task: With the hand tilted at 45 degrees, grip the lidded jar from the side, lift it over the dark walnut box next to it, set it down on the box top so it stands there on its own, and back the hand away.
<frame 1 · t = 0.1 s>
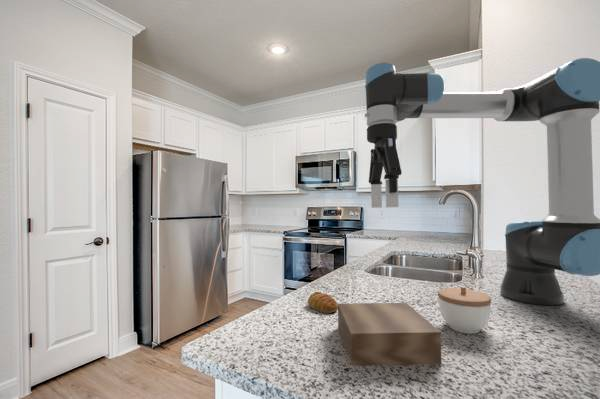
hand: (383, 207, 75), 28 cm above the countertop, tool pointing down, fingers open, 13 cm apart
pastry: (323, 309, 82), on the countertop
lidded jar: (464, 328, 67), on the countertop
walnut box: (383, 345, 60), on the countertop
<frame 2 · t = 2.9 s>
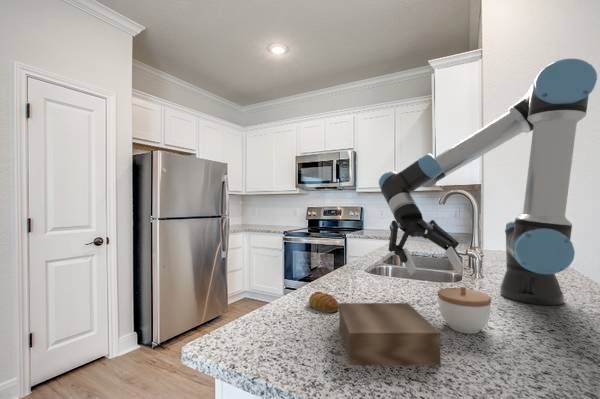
hand: (437, 271, 75), 11 cm above the countertop, tool tilted 45°, fingers open, 13 cm apart
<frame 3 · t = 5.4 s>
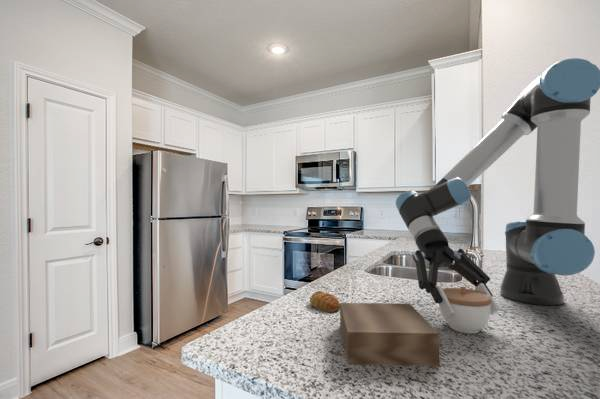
hand: (473, 314, 65), 4 cm above the countertop, tool tilted 45°, fingers closed on lidded jar, 11 cm apart
lidded jar: (464, 328, 67), on the countertop, touching gripper
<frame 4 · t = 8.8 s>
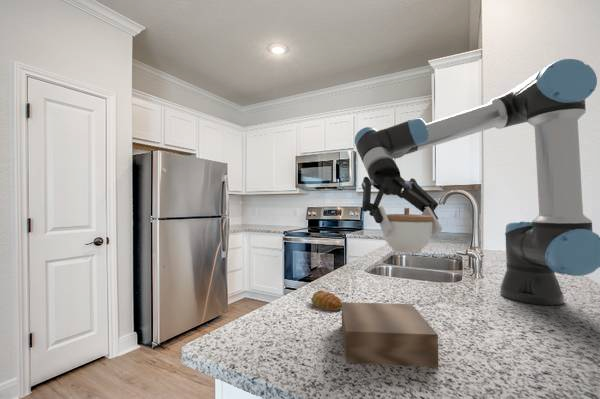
hand: (413, 233, 62), 22 cm above the countertop, tool tilted 45°, fingers closed on lidded jar, 11 cm apart
lidded jar: (406, 251, 65), point 18 cm above the countertop, touching gripper
when the fingers open (12 cm above the countertop, at t = 12.2 s): lidded jar drops 2 cm, resting on walnut box.
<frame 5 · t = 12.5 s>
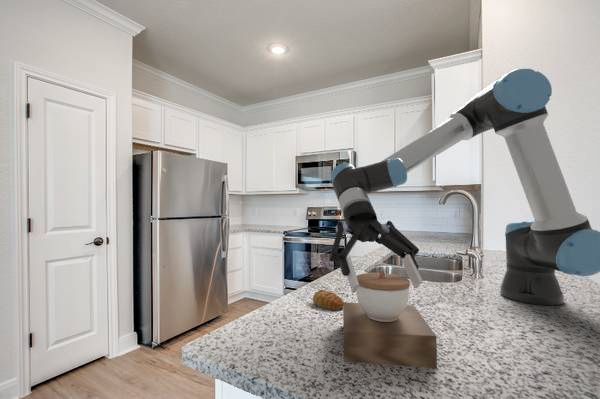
hand: (387, 286, 58), 12 cm above the countertop, tool tilted 45°, fingers open, 13 cm apart
lidded jar: (382, 317, 60), point 5 cm above the countertop, touching walnut box
walnut box: (383, 346, 60), on the countertop, touching lidded jar
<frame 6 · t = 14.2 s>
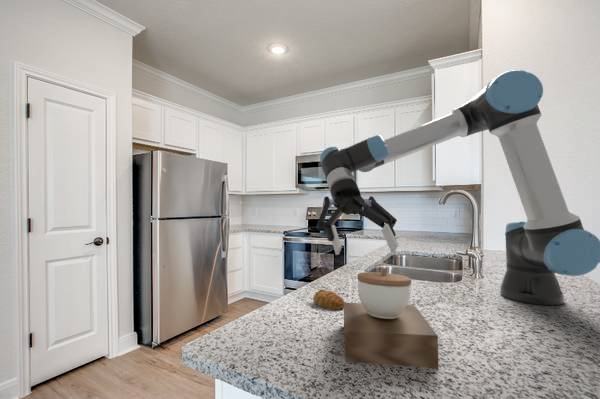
hand: (367, 250, 66), 18 cm above the countertop, tool tilted 45°, fingers open, 13 cm apart
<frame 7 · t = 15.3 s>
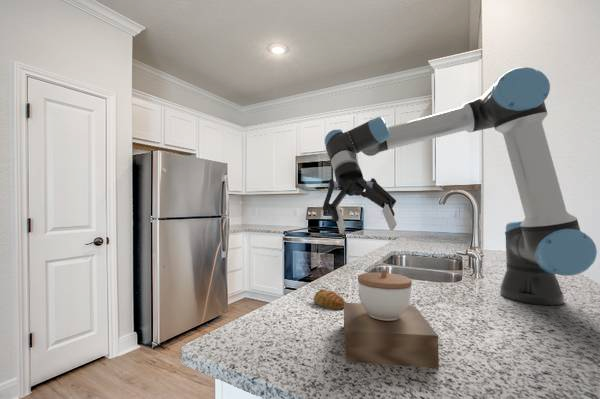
hand: (368, 229, 73), 22 cm above the countertop, tool tilted 40°, fingers open, 13 cm apart
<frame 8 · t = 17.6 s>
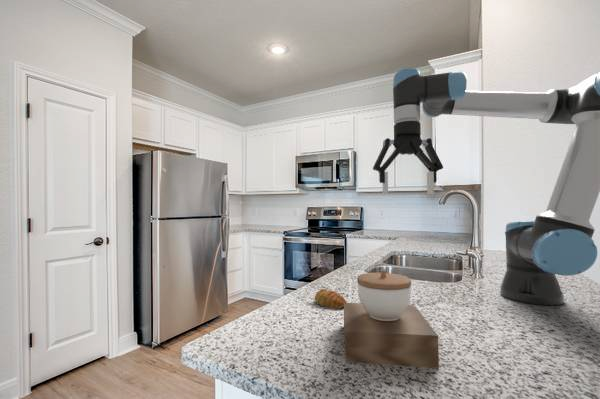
hand: (408, 194, 87), 32 cm above the countertop, tool pointing down, fingers open, 13 cm apart
lidded jar: (384, 316, 60), point 5 cm above the countertop
walnut box: (384, 346, 60), on the countertop
at the end: lidded jar inside the target area on the walnut box (0.4 cm from its centre), point 5.9 cm above the walnut box's base; lidded jar tilted 2°; the gripper is holding nothing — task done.
